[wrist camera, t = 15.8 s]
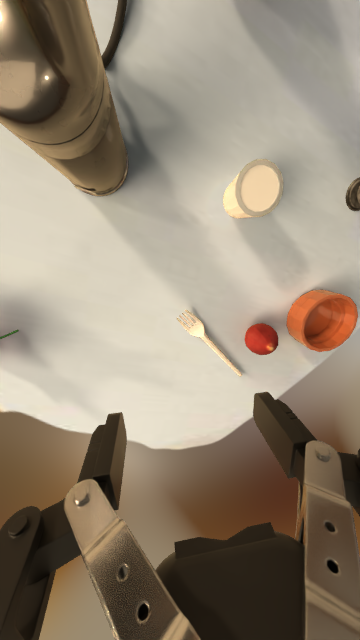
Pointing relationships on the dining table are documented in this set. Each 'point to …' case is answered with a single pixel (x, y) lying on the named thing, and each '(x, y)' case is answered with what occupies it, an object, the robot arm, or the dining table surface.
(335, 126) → the dining table surface
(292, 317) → the bowl
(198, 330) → the fork
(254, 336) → the onion
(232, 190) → the cream cylinder
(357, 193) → the pawn-shaped pepper mill
